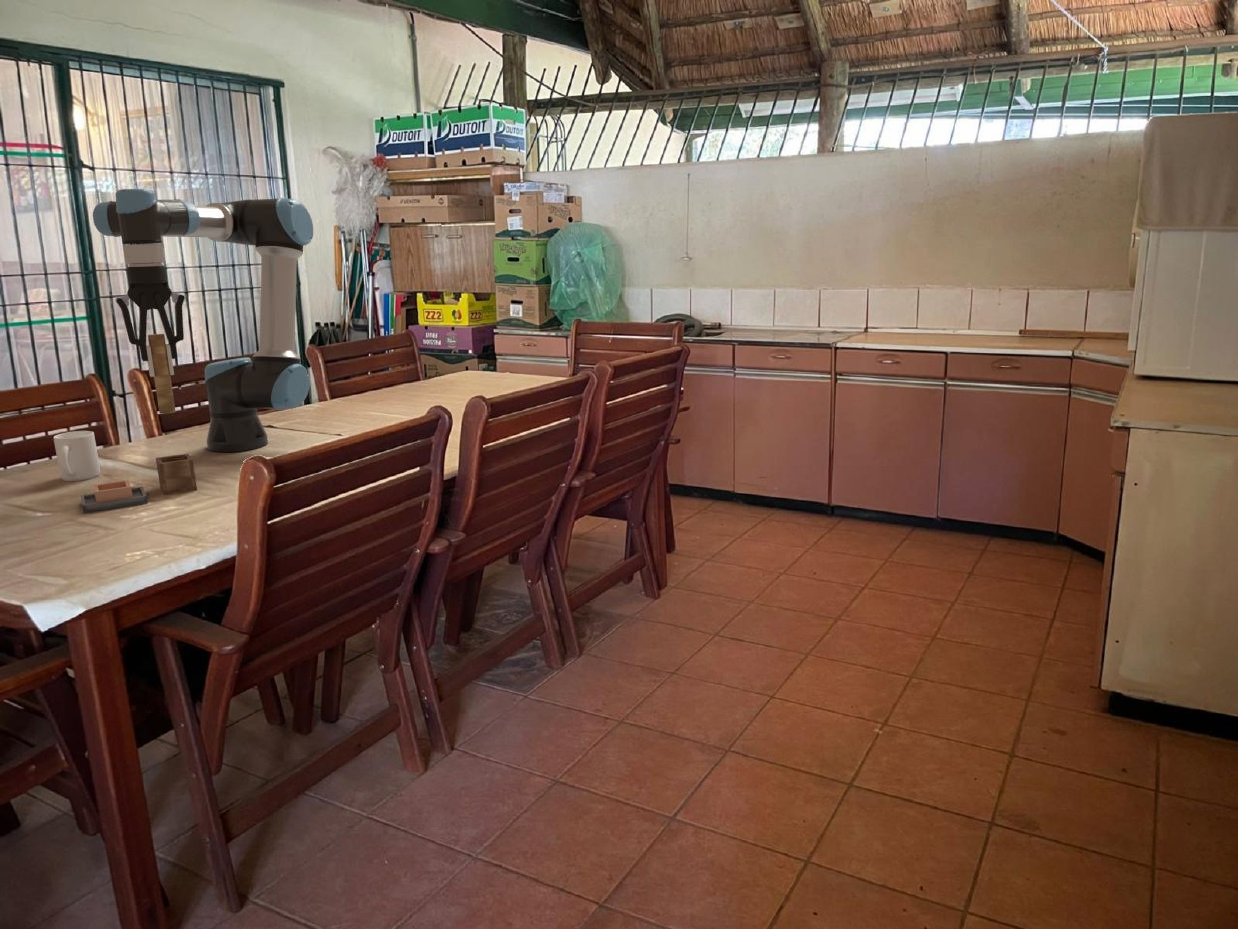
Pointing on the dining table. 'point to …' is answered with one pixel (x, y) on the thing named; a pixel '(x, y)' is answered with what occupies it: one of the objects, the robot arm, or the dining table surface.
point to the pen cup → (176, 473)
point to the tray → (92, 506)
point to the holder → (112, 491)
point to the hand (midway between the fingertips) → (162, 374)
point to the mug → (77, 455)
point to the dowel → (161, 373)
